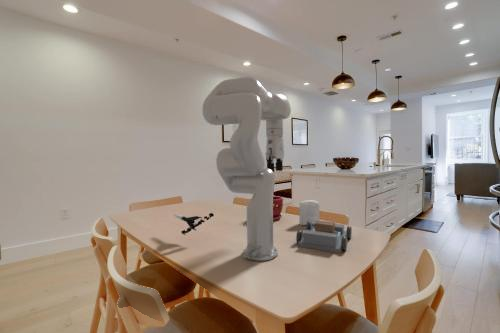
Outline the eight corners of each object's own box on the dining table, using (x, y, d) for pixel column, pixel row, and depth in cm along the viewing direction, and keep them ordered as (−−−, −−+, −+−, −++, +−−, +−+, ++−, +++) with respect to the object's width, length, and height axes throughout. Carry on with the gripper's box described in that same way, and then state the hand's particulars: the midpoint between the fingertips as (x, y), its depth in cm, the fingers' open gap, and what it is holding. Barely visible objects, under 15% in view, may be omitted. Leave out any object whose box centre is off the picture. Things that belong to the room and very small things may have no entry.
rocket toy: (183, 220, 95) (158, 210, 112) (184, 236, 95) (159, 224, 112) (214, 213, 104) (187, 205, 121) (215, 228, 105) (187, 218, 122)
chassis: (344, 254, 88) (344, 239, 88) (295, 245, 97) (295, 232, 96) (352, 235, 107) (352, 223, 107) (310, 229, 116) (310, 218, 116)
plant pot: (286, 220, 132) (286, 198, 132) (262, 222, 130) (262, 200, 129) (279, 214, 145) (279, 194, 144) (257, 216, 143) (257, 195, 142)
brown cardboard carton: (332, 239, 98) (332, 225, 98) (315, 237, 101) (314, 223, 101) (334, 236, 102) (334, 222, 102) (317, 234, 105) (317, 220, 105)
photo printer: (317, 222, 128) (317, 199, 127) (320, 224, 124) (320, 200, 123) (298, 223, 127) (298, 199, 126) (301, 226, 122) (300, 201, 122)
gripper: (274, 131, 101) (275, 173, 102) (289, 134, 116) (289, 170, 117) (258, 132, 104) (259, 172, 105) (274, 134, 119) (274, 169, 120)
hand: (275, 171), depth 111 cm, fingers open, 9 cm apart
